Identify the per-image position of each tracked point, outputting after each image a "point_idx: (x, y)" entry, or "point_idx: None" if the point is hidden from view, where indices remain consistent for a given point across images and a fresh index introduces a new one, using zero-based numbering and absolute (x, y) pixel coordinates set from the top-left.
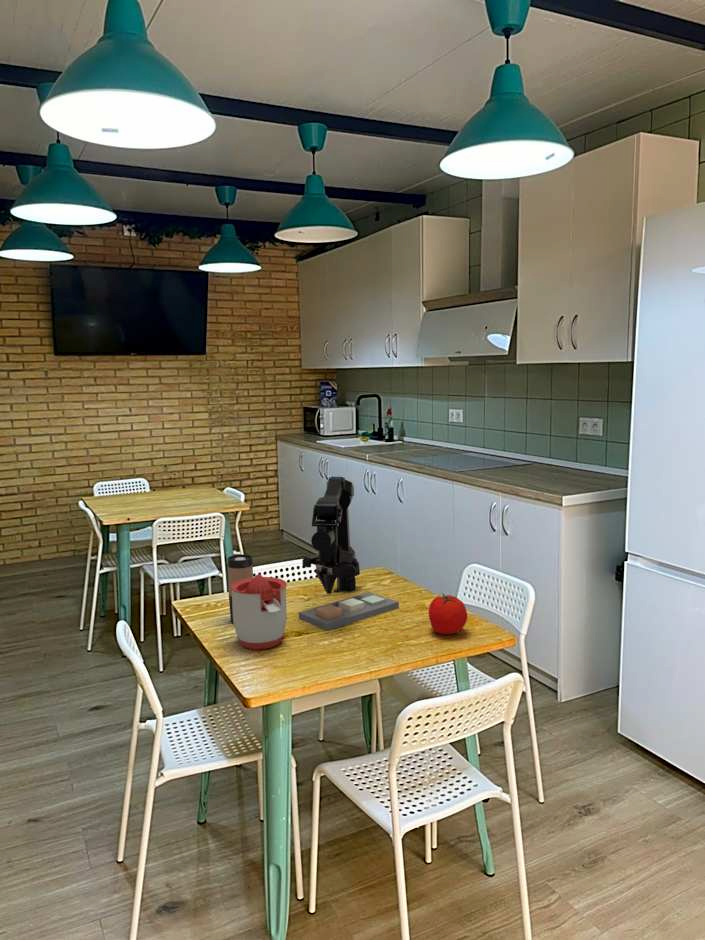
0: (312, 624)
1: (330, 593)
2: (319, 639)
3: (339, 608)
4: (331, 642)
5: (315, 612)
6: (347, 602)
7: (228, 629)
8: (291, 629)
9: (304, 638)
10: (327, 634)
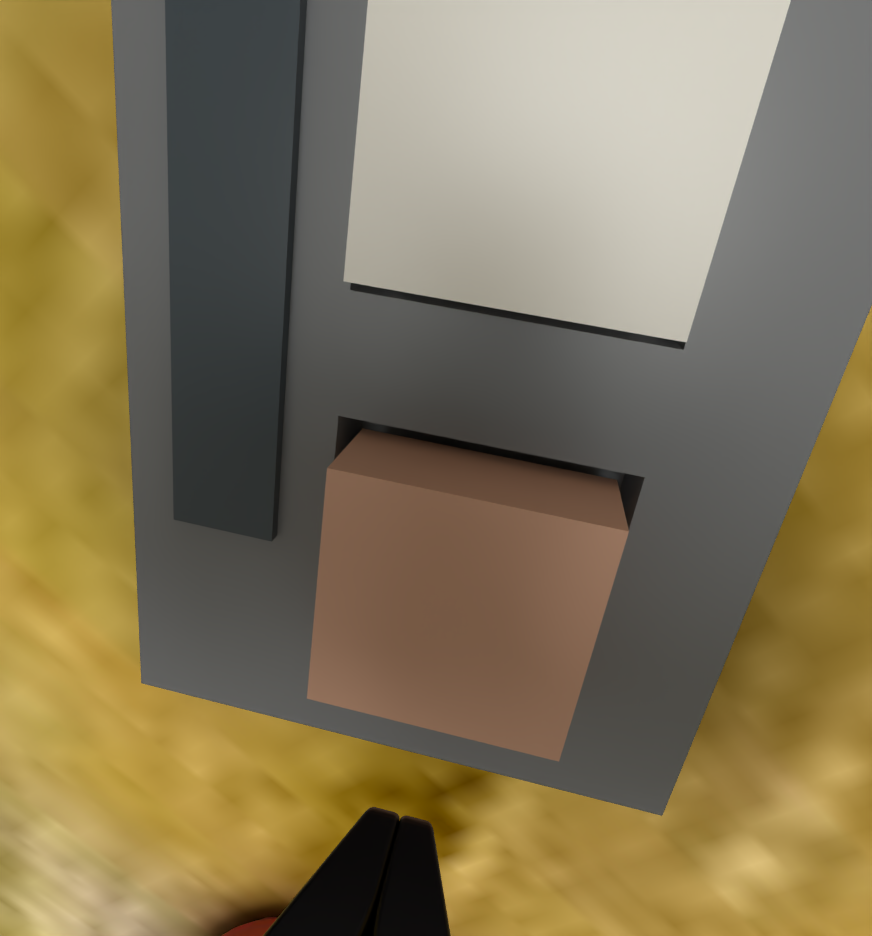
0: None
1: (429, 830)
2: (660, 839)
3: (576, 535)
4: (807, 851)
5: (276, 603)
6: (489, 193)
7: (3, 920)
8: (298, 771)
9: (531, 865)
10: None
